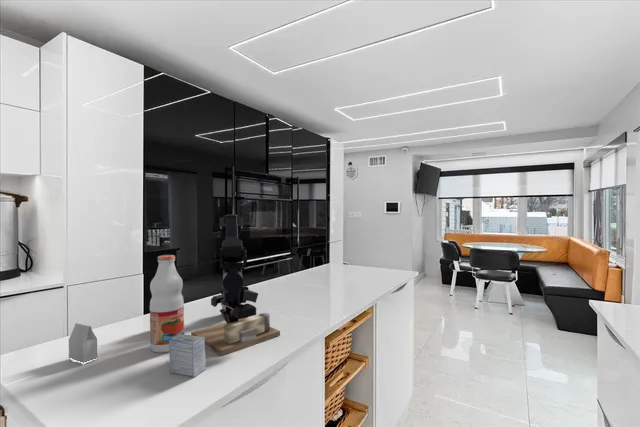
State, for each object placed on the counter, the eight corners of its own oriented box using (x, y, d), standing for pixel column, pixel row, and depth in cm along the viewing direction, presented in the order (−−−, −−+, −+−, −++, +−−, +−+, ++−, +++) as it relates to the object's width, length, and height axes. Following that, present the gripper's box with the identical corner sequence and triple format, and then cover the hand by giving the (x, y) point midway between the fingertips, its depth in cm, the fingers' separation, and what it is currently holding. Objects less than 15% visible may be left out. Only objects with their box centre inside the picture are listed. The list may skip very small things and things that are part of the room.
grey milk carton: (83, 365, 87) (82, 328, 87) (68, 360, 90) (68, 325, 90) (97, 359, 91) (96, 324, 91) (83, 355, 93) (82, 321, 93)
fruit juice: (166, 339, 105) (165, 253, 105) (190, 342, 102) (189, 254, 102) (143, 351, 96) (141, 257, 96) (168, 355, 93) (167, 258, 93)
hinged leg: (265, 327, 110) (265, 312, 110) (271, 329, 107) (271, 314, 107) (223, 341, 98) (223, 324, 98) (230, 344, 96) (229, 327, 95)
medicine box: (206, 369, 84) (205, 336, 84) (194, 378, 80) (193, 343, 80) (181, 365, 86) (181, 333, 86) (169, 373, 82) (168, 339, 82)
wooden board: (191, 336, 107) (190, 322, 107) (246, 320, 122) (245, 308, 122) (221, 355, 92) (221, 340, 92) (280, 335, 107) (279, 321, 107)
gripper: (270, 284, 101) (270, 333, 102) (239, 274, 114) (240, 317, 115) (239, 291, 93) (239, 344, 94) (210, 280, 107) (210, 326, 107)
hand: (232, 331), depth 103 cm, fingers closed
